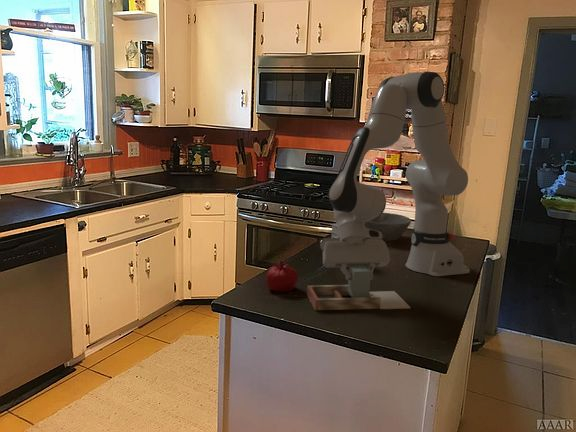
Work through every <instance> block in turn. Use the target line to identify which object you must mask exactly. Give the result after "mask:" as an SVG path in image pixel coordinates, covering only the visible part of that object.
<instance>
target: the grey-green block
mask: <svg viewBox="0 0 576 432" xmlns="http://www.w3.org/2000/svg"><path fill="white" fill-rule="evenodd" d="M348 268H349V269H348V272H351V273H352V279H351V280H347V283H348V284H347V285H348V292H349V294H350V295H349V296H350V297H351V298H360V297H370V296H369V292H371V291H370V290H371V280H370V279H371V271H370V270H371V269H369V268H368V267H367V266H349V267H348Z"/></svg>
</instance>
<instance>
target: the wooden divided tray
mask: <svg viewBox="0 0 576 432" xmlns="http://www.w3.org/2000/svg"><path fill="white" fill-rule="evenodd" d="M311 287H312V289H313V290H314V292H315V294H316V295H333V290H337V291H338V292H339V294H340V295H341V297H342V298H318V299H319V310H318V311H333V310H334V311H336V310H337V311H338V310H339V311H340V310H341V311H342V310H371V309H372V310H373V309H374V310H375V309H379V310H381V309H380V301H381V298H380V297H370V296H369V297H360V298H352V297H345V296H351V295H350V294H349V292H348V284H323V285H322V284H316V285H314V284H313V285H312V284H311Z"/></svg>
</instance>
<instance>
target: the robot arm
mask: <svg viewBox="0 0 576 432" xmlns="http://www.w3.org/2000/svg"><path fill="white" fill-rule="evenodd" d="M444 94H445V82H444V79H443V78H442V77H441V75H440V74H439V73H437V72H434V71H424V72H409V73H405V74H401V75H398V76H390V77H388V78H385V79H384V80H382V81H381V83H380V84H379V86H378V87H377V91H376V93H375V95H374V98H373V100H372V102H371V106H370V109H369V113H368V116H367V120H366V122H365V124H364V126H363V127H361V128H359V129H357V131H355V133H354V135H353V137H352V138H351V141H350V144H349V146H348V148H347V151H346V153H345V154H344V155H345V156H344V159H343V161H342V163H341V166H340V167H339V168H340V169H339V171H338V173H337V176H336V177H335V178H334V180H333V182H332V183H331V186H330V187H329V190H328V200H329V203H330V205H331V207H332V209H333V216H334V221H335V224H336V223H337V235H338V238H332V237H325V238H324V239H321V240H320V242H319V246H320V249H321V251H322V265H323V266H324V267H325V268H340V271H341V272H342V273H343V275H344V276H345V280H346V281H349V280H351V279H352V273H351V272H349V270H348V269H347V268H349V266H367V268H368V269H369V270H370V271H371V279H370V281H371V280H373V279H374V273H373V272H374V270H375V267H387V266H388V264H389V262H390V261H391V255H390V251H389V248H388V246H387V242H384V241H383V240H381V239H382V233H381V232H379V231H375V230H372V229H369V228H366V227H365V225H364V224H365V222H369V221H371V220H373V219H375V218H377V217H379V216H380V215H381V214H382V213H385V212H384V211H385V210H386V206H387V198H386V195H385V192H384V191H383V190H381V189H379V188H377V187H374V186H371V185H368V184H365V183H362V182H359V181H358V179H357V177H358V174H359V172H360V170H361V167H362V164H363V161H364V160H365V157H366V154H367V153H368V152H369V151H371V150H375V149H377V150H378V149H385V148H389V147H392V146H393V145H394V144H396V143H397V142H398V141H399V140H400V138H401V136H402V132H403V130H404V126H405V125H404V124H405V121H406V115H407V110H410V111H411V113H410V114H411V115H410V116H411V117H410V118H411V126H412V127H411V128H412V135H413V141H414V147H415V149H416V150H417V152H418V153H419V154H420V155H421V157H422V158H423V159H417V160H414V161H412V162H410V163H409V165H408V166H407V168H406V171H405V178H406V181H407V182H408V184H409V185H410V188H411V191H412V195H413V199H414V206H415V214H414V224H413V225H414V227H413V228H412V232H411V241H410V243H411V246H410V250H409V255H408V258H407V260H406V263H405V267H406V268H407V269H409V270H412V271H413V272H418V273H421V274H427V275H430V276H434V277H445V276H453V275H464V274H470V273H471V270H470V268H469V267H468V266H467V265H466V264H465V261H464V254H463V253H462V252H461V251H460V250H459V249H458V248H457V247H455V246H454V244H452V242H450V240H451V241H454V240H455V239H456V238H457V237H456V235H455V234H453V233H449V232H448V231H447V226H448V224H447V223H448V217H449V216H448V215H449V211H448V208H447V206H446V205H445V204H444V202H443V199H442V196H446V197H449V196H451V197H452V196H458V195H461V194H462V193H464V191H465V190H466V188H467V187H468V183H469V175H468V172H467V171H466V169H464V168H463V166H461V164H460V163H459V162H458V160H457V158H456V156H455V154H454V152H453V150H452V146H451V143H450V141H449V136H448V127H447V119H446V111H445V108H444V103H443V100H442V99H443V97H444Z"/></svg>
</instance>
